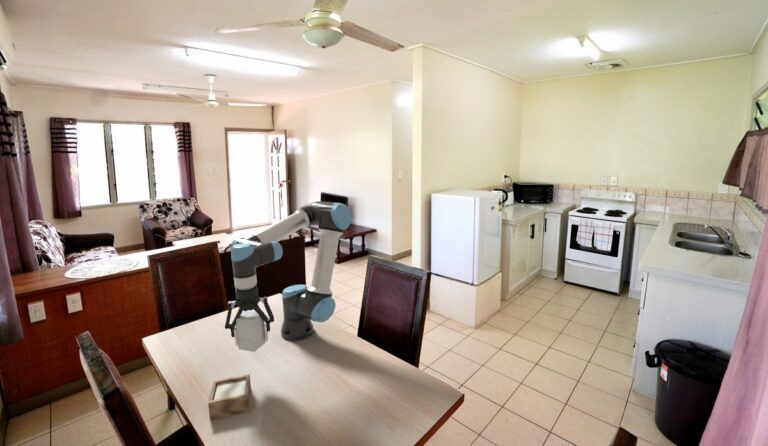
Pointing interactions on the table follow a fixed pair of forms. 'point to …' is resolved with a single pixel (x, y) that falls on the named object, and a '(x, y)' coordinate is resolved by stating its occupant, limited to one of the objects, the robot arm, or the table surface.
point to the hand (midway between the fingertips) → (252, 341)
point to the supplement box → (250, 331)
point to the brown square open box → (229, 396)
